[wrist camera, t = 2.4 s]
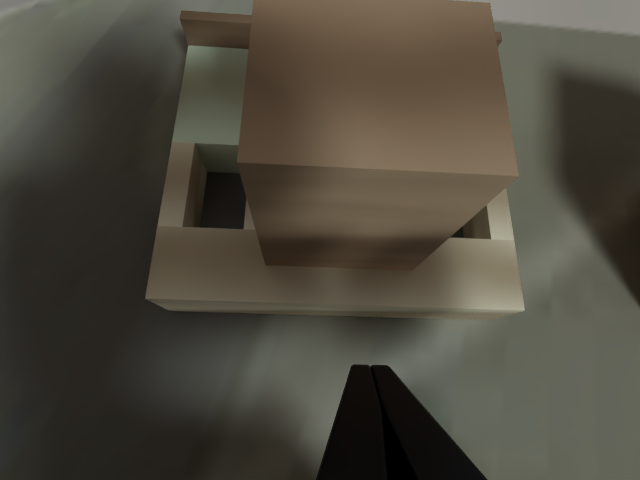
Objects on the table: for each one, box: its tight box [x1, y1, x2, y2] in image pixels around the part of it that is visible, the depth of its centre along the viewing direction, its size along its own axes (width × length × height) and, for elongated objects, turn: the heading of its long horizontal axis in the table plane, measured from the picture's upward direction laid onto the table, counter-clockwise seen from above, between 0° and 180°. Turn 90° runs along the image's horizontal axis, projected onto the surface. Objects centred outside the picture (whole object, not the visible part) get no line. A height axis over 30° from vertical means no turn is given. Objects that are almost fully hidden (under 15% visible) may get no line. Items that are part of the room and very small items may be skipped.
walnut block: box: [237, 0, 519, 271], centre depth 13 cm, size 5×6×8 cm
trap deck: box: [145, 11, 525, 320], centre depth 18 cm, size 13×15×4 cm
